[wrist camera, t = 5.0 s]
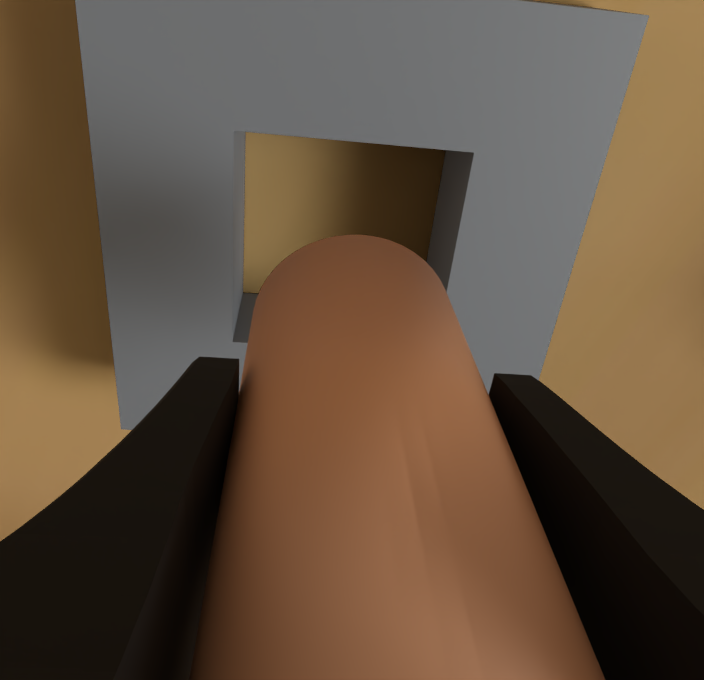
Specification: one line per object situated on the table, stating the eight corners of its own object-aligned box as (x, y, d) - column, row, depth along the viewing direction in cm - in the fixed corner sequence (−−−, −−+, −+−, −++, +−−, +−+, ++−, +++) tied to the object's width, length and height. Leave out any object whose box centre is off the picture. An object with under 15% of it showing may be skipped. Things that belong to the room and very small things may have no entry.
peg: (433, 412, 14) (585, 975, 6) (250, 403, 13) (165, 993, 6) (468, 242, 12) (763, 765, 4) (254, 226, 11) (132, 769, 4)
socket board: (493, 391, 22) (518, 446, 20) (144, 372, 21) (121, 429, 18) (595, 8, 16) (649, 15, 13) (111, -49, 15) (69, -53, 12)
